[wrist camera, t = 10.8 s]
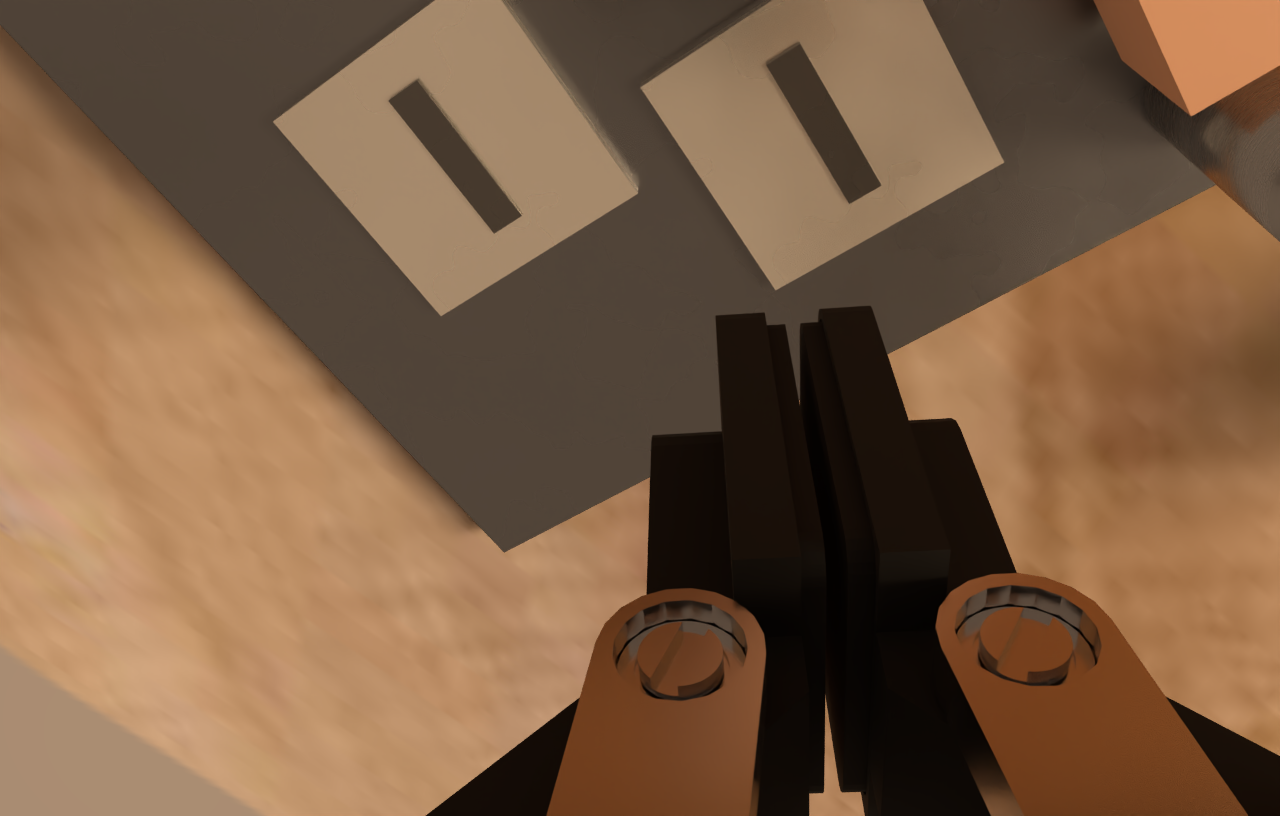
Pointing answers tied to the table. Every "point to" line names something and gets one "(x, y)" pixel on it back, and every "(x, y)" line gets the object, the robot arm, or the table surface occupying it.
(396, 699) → the table surface
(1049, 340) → the table surface
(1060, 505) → the table surface
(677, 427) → the panel
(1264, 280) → the table surface
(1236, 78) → the swing bar
